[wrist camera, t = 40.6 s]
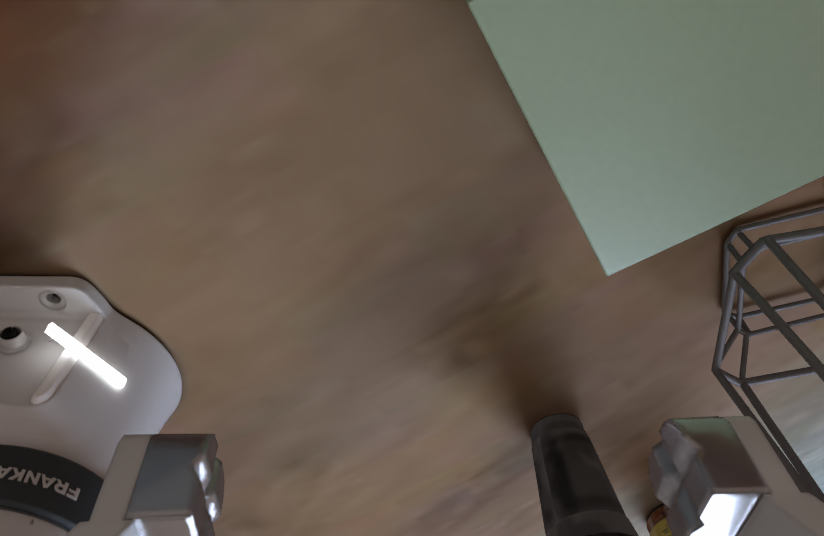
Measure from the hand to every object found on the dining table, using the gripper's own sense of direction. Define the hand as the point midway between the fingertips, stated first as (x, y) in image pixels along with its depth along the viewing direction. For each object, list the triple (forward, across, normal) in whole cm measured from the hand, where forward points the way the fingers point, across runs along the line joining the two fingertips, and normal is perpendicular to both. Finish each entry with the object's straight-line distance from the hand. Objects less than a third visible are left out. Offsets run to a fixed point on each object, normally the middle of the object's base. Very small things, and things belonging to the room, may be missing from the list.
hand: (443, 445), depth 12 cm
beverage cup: (+27, -15, +34) cm, 46 cm away
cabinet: (+27, -13, -1) cm, 30 cm away
